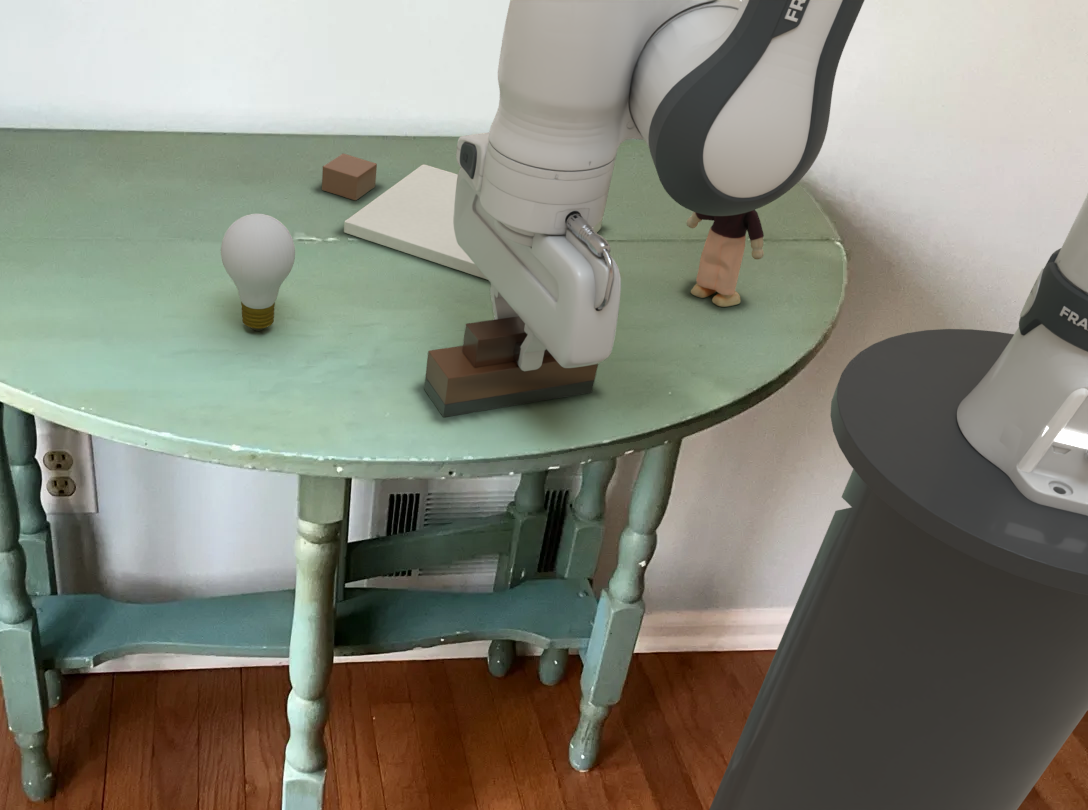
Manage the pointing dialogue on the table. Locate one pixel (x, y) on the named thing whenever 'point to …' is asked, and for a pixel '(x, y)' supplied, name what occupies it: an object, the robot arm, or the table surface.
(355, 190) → the brown square block
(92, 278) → the table surface
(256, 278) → the light bulb
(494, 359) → the brush
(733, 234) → the grandmother figurine
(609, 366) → the table surface
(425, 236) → the tile
